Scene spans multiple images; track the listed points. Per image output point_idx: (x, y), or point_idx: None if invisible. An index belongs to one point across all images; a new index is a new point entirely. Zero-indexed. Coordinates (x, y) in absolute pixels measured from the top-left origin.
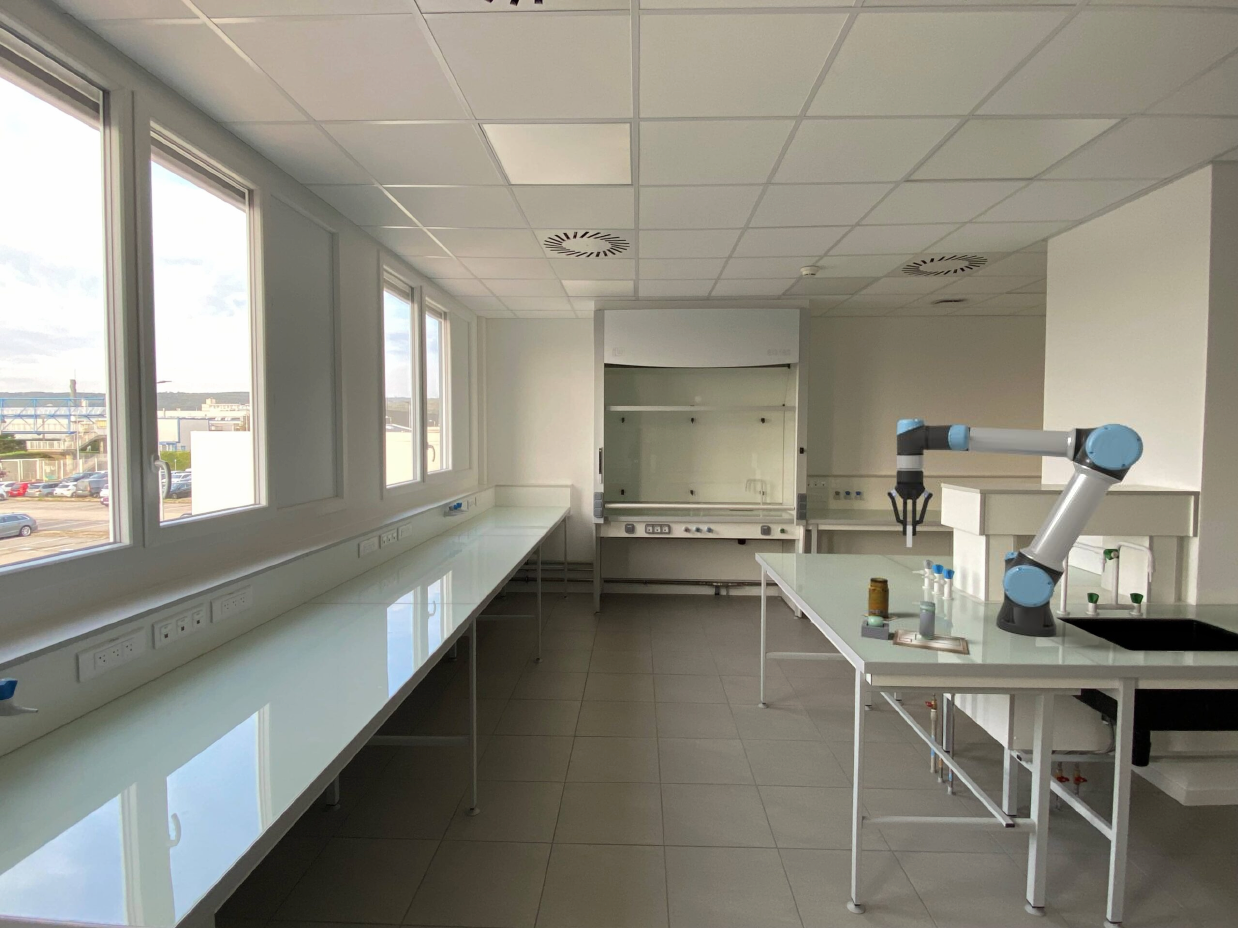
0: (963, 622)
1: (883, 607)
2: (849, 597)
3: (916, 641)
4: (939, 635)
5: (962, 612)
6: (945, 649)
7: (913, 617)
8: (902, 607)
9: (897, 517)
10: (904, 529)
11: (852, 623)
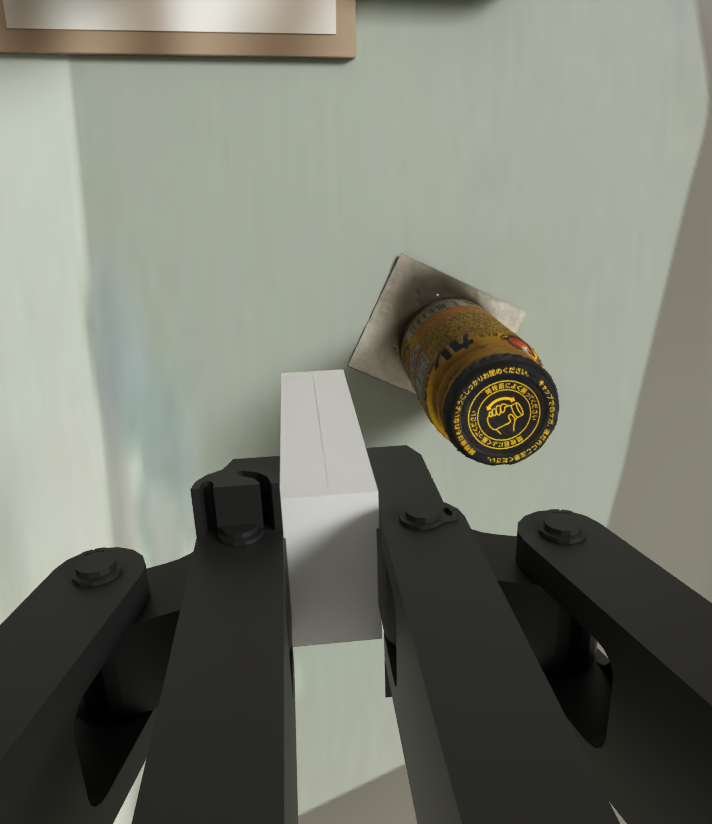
0: (46, 429)
1: (434, 318)
2: None
3: None
4: (120, 24)
5: None
6: None
7: (280, 403)
8: None
9: (617, 576)
10: (406, 488)
11: (576, 108)
